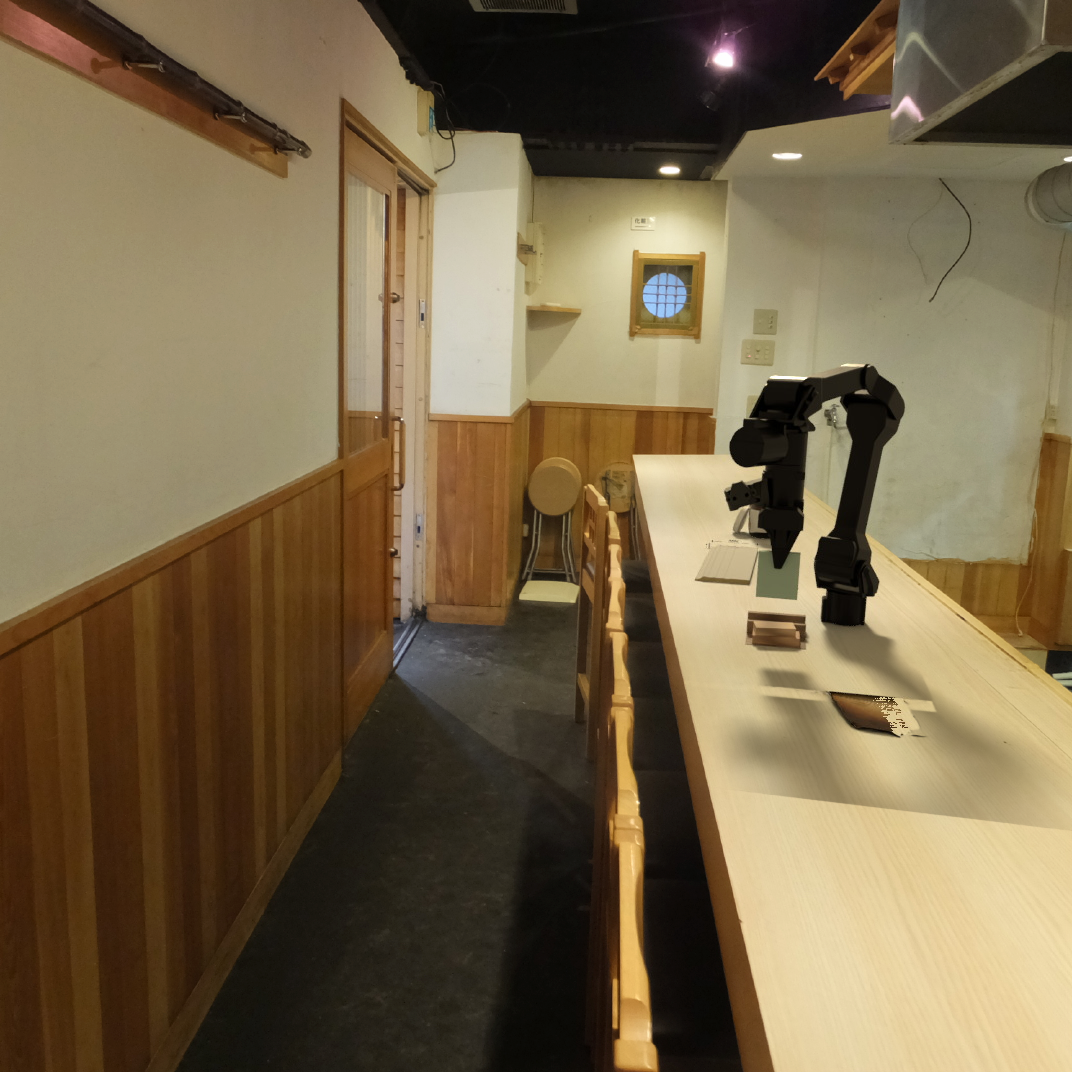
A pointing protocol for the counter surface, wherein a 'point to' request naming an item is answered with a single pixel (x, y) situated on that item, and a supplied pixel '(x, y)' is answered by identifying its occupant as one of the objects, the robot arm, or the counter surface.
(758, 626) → the offcut upper
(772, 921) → the counter surface
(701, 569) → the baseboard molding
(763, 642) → the offcut lower
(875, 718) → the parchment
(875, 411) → the robot arm
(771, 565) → the block
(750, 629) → the rack
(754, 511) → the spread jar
